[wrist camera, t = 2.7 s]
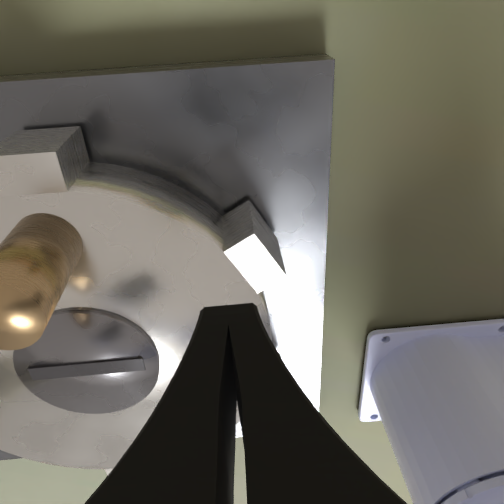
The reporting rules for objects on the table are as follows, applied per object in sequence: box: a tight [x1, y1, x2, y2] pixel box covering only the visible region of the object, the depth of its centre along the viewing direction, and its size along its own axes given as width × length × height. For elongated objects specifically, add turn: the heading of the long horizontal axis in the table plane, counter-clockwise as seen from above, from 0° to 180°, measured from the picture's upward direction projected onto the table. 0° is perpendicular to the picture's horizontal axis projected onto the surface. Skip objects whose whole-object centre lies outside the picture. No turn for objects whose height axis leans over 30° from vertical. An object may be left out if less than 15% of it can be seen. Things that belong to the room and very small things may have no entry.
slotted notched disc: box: [0, 126, 287, 476], centre depth 18 cm, size 17×19×7 cm
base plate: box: [0, 54, 335, 460], centre depth 22 cm, size 22×22×2 cm
